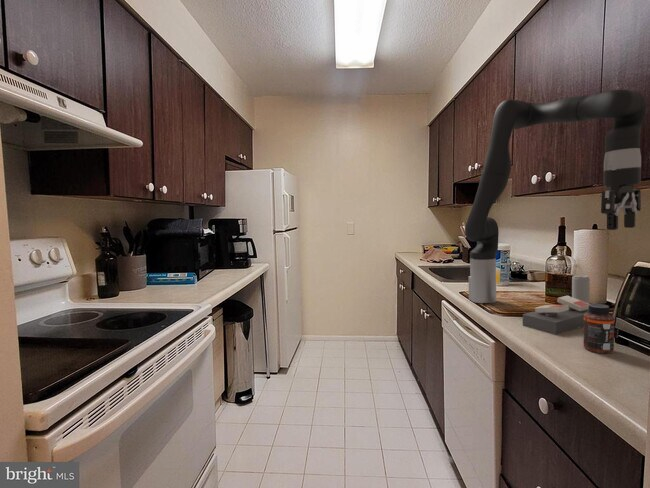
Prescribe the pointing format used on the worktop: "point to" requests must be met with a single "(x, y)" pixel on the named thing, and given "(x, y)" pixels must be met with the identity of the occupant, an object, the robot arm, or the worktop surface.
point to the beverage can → (581, 288)
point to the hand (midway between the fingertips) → (621, 228)
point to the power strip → (555, 320)
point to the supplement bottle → (599, 329)
